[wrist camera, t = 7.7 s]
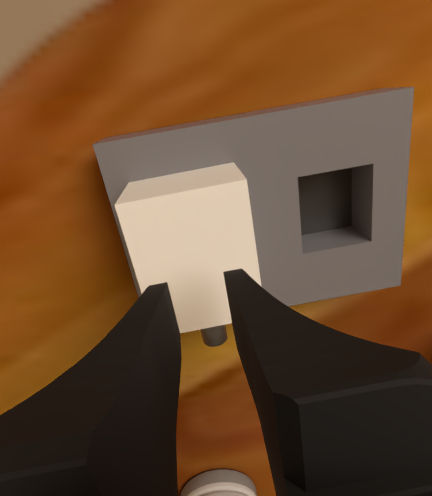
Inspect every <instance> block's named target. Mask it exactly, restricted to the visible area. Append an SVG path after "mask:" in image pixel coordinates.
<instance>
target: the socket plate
mask: <svg viewBox="0 0 432 496" xmlns="http://www.w3.org/2000/svg"><path fill="white" fill-rule="evenodd" d="M413 94H414V87H399V88H381V89H376V90H370V91H365V92H359V93H353V94H348V95H342V96H337V97H331V98H325V99H320V100H314V101H309V102H303V103H297V104H292V105H286V106H281V107H275V108H269V109H264V110H258V111H253V112H247V113H241V114H236V115H230V116H225V117H219V118H214V119H208V120H202V121H197V122H191V123H186V124H180V125H174V126H169V127H163V128H158V129H152V130H146V131H141V132H135V133H130V134H124V135H118V136H113V137H107V138H104V139H102V140H100V141H98V142H96V143H94V144H93V147H94V150H95V154H96V157H97V161H98V164H99V167H100V171H101V174H102V177H103V181H104V184H105V187H106V191H107V194H108V197H109V201H110V204H111V207H112V211H113V214H114V217H115V221H116V224H117V227H118V231H119V234H120V237H121V241H122V244H123V247H124V251H125V254H126V258H127V261H128V264H129V268H130V271H131V274H132V278H133V281H134V284H135V288H136V291H137V294H138V298H139V297H140V296H141V295H142V293H141V290H140V287H139V283H138V280H137V277H136V274H135V270H134V267H133V264H132V261H131V257H130V254H129V251H128V248H127V244H126V241H125V238H124V235H123V231H122V228H121V225H120V222H119V218H118V215H117V212H116V209H115V203H116V202H117V200H118V198H119V197H120V195H121V194H122V192H123V191H124V189H125V187H126V186H127V184H128V183H129V182H134V181H139V180H144V179H150V178H155V177H160V176H165V175H170V174H175V173H181V172H186V171H191V170H196V169H201V168H207V167H212V166H217V165H222V164H227V163H232V162H234V163H235V164H236V166H237V167H238V168H239V170H240V171H241V172H242V174H243V175H244V176H245V178H246V179H247V185H248V192H249V199H250V206H251V214H252V221H253V228H254V235H255V242H256V250H257V257H258V264H259V271H260V279H261V286H262V288H264V289H265V290H266V291H267V292H269V293H270V294H271V295H272V296H274V297H275V298H276V299H278V300H279V301H281V302H282V303H283V304H285V305H286V306H293V305H298V304H303V303H309V302H314V301H320V300H325V299H330V298H336V297H341V296H346V295H352V294H357V293H362V292H368V291H373V290H379V289H384V288H389V287H395V286H400V285H401V271H402V257H403V242H404V227H405V212H406V198H407V183H408V168H409V153H410V139H411V124H412V109H413Z"/></svg>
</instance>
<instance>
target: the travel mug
mask: <svg viewBox="0 0 432 496" xmlns="http://www.w3.org/2000/svg"><path fill="white" fill-rule="evenodd" d="M181 496H257V494H256V488H255V485H254V483H253V482H252V480H251V479H250V478H249V477H248V476H246V475H245V474H243V473H241V472H238V471H235V470H229V469H216V470H211V471H206V472H204V473H201V474H199V475H197V476H195V477H194V478H192V479H191V480H190V481H189V482H188V483H187V484H186V485H185V486H184V488H183V490H182V492H181Z"/></svg>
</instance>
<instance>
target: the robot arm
mask: <svg viewBox="0 0 432 496" xmlns="http://www.w3.org/2000/svg"><path fill="white" fill-rule="evenodd" d="M223 274H224V279H225V285H226V291H227V297H228V303H229V308H230V314H231V320H232V325H233V330H234V335H235V340H236V345H237V349H238V352H239V356H240V359H241V362H242V365H243V368H244V371H245V374H246V377H247V380H248V383H249V386H250V389H251V393H252V396H253V399H254V402H255V405H256V408H257V412H258V415H259V419H260V423H261V428H262V432H263V436H264V441H265V445H266V450H267V454H268V459H269V464H270V468H271V473H272V477H273V482H274V486H275V491H276V495H277V496H432V364H430V363H429V362H428V361H427V360H426V359H425V358H424V357H423V356H422V355H421V354H420V353H418V352H413V351H409V350H404V349H400V348H395V347H391V346H386V345H382V344H378V343H374V342H371V341H367V340H364V339H361V338H357V337H354V336H351V335H348V334H345V333H342V332H340V331H337V330H334V329H332V328H330V327H327V326H325V325H322V324H320V323H318V322H316V321H313V320H311V319H309V318H307V317H306V316H304V315H302V314H300V313H298V312H296V311H294V310H293V309H291V308H289V307H288V306H286V305H285V304H283V303H282V302H281V301H279V300H278V299H276V298H275V297H274V296H272V295H271V294H270V293H269V292H267V291H266V290H265V289H264V288H262V287H261V286H260V285H259V284H258V283H257V282H256V281H255V280H254V279H252V278H251V277H250V276H249V275H248V274H247V272H246V271H244V270H243V269H242V268H241V269H236V270H230V271H225V272H223ZM180 371H181V342H180V331H179V327H178V323H177V319H176V315H175V311H174V307H173V303H172V299H171V295H170V291H169V287H168V283H167V282H165V283H160V284H155V285H149V286H148V287H147V288H146V289H145V291H144V292H143V293H142V295H141V296H140V297H139V298H138V300H137V301H136V302H135V303H134V305H133V306H132V307H131V308H130V310H129V311H128V312H127V313H126V314H125V316H124V317H123V318H122V319H121V320H120V321H119V322H118V324H117V325H116V326H115V327H114V328H113V329H112V330H111V331H110V332H109V333H108V334H107V336H106V337H105V338H104V339H103V340H102V341H101V342H100V343H99V344H98V345H97V346H95V347H94V348H93V349H92V350H91V351H90V352H89V353H88V354H87V355H85V356H84V357H83V358H82V359H81V360H80V361H79V362H77V363H76V364H75V365H74V366H72V367H71V368H70V369H68V370H67V371H66V372H64V373H63V374H62V375H60V376H59V377H58V378H57V379H55V380H54V381H53V382H51V383H50V384H49V385H47V386H46V387H44V388H43V389H41V390H40V391H38V392H37V393H35V394H34V395H32V396H31V397H29V398H28V399H26V400H25V401H23V402H21V403H20V404H18V405H17V406H15V407H13V408H12V409H10V410H8V411H7V412H5V413H3V414H2V415H0V496H178V490H177V457H176V423H177V409H178V397H179V384H180Z"/></svg>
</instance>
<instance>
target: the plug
mask: <svg viewBox="0 0 432 496" xmlns="http://www.w3.org/2000/svg"><path fill="white" fill-rule="evenodd" d="M115 209H116V212H117V215H118V218H119V222H120V225H121V228H122V231H123V235H124V238H125V241H126V244H127V248H128V251H129V254H130V257H131V261H132V264H133V267H134V270H135V274H136V277H137V280H138V283H139V287H140V290H141V293H143V292H144V291H145V289H146V288H147V287H148V286H149V285H155V284H160V283H165V282H167V283H168V287H169V291H170V295H171V299H172V303H173V307H174V311H175V315H176V319H177V323H178V327H179V331H180V333H185V332H190V331H195V330H200V329H201V333H202V337H203V341H204V343H205V344H206V345H207V346H211V347H214V346H219V345H221V344H223V343H224V342H225V341H226V340H227V333H226V328H225V324H230V323H232V320H231V314H230V308H229V303H228V297H227V291H226V285H225V279H224V274H223V272H225V271H230V270H236V269H241V268H242V269H243V270H244V271H246V272H247V274H248V275H249V276H250V277H251V278H252V279H254V280H255V281H256V282H257V283H258V284H259V285H260V286H261V279H260V271H259V264H258V257H257V250H256V242H255V235H254V228H253V221H252V214H251V206H250V199H249V192H248V185H247V179H246V178H245V176H244V175H243V174H242V172H241V171H240V170H239V168H238V167H237V166H236V164H235V163H234V162H232V163H227V164H222V165H217V166H212V167H207V168H201V169H196V170H191V171H186V172H181V173H175V174H170V175H165V176H160V177H155V178H150V179H144V180H139V181H134V182H129V183H128V184H127V186H126V187H125V189H124V191H123V192H122V194H121V195H120V197H119V198H118V200H117V202H116V203H115ZM261 287H262V286H261Z"/></svg>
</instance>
